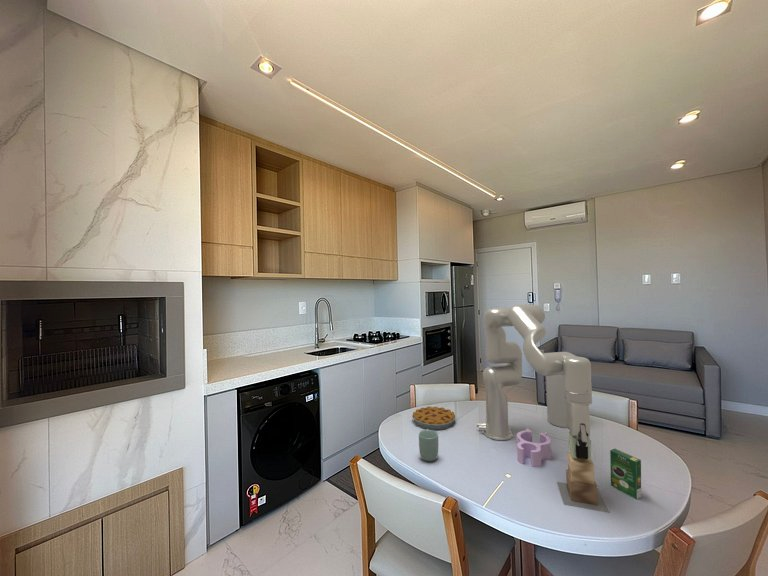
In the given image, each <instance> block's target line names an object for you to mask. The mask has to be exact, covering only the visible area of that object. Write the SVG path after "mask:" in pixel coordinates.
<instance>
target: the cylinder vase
mask: <svg viewBox="0 0 768 576" xmlns="http://www.w3.org/2000/svg"><path fill="white" fill-rule="evenodd" d="M545 383H546V403H547V404H546V407H547V408H546V410H547V411H546V412H547V415H546V417H547V421H548V423H550V424H551V425H553V426H554V427H558V428H564V429H565V428H567V429H568V427H567V423H566V410H567V401H565V399H564V375H552V376H545Z"/></svg>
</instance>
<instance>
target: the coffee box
mask: <svg viewBox="0 0 768 576" xmlns="http://www.w3.org/2000/svg"><path fill="white" fill-rule="evenodd" d="M609 455H610V460H609V461H610V465H609V466H610V486H611V487H613V489H614V488H615V489H616V490H618V491H620V492H622V493H624V494H625V495H628V496H629V497H631V498H633V499H634V500H638V499H641V497H642V460H641V459H639V458H637V457H635V456H632V455H630V454H629V453H626V452H624V451H622V450H619V449H617V448H612V449H610V452H609Z"/></svg>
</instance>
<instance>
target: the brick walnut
mask: <svg viewBox="0 0 768 576" xmlns="http://www.w3.org/2000/svg"><path fill="white" fill-rule="evenodd" d="M565 477H566V478H565V480H566V481H565V483H566V484H567V490H568V493H569V496H570V499H571V501H575V502H580V503H586V504H592V505H597V506H598V500H597V488H598V485H597V482H596V480H594V482H595V484H589V483H583V482H577V481H572V479H571V477H570V474H569V472H568V468H566V470H565Z"/></svg>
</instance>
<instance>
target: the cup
mask: <svg viewBox="0 0 768 576" xmlns="http://www.w3.org/2000/svg"><path fill="white" fill-rule="evenodd" d="M418 447H419V449H418V450H419V455H420V457H421V459H422V460H423V461H426V462H433V461H435V460H437V458H438V454H439V433H438V432H437V430H432V429H422V430H420V431H419V433H418Z"/></svg>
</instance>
